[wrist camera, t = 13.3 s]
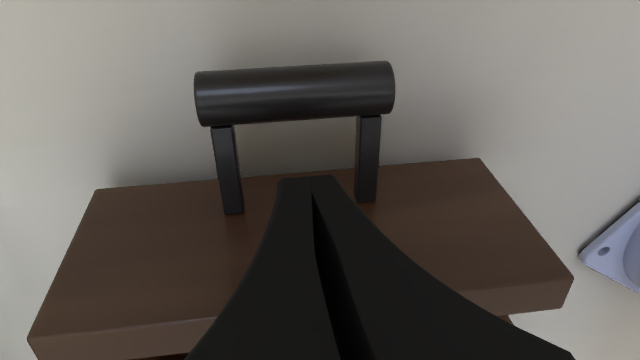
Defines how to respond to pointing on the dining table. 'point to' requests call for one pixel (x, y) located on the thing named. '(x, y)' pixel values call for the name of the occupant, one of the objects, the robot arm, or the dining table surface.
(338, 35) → the dining table surface
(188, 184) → the drawer
